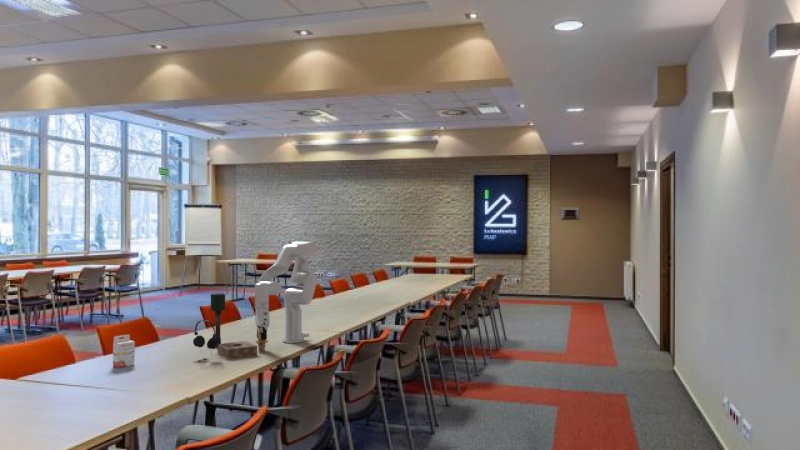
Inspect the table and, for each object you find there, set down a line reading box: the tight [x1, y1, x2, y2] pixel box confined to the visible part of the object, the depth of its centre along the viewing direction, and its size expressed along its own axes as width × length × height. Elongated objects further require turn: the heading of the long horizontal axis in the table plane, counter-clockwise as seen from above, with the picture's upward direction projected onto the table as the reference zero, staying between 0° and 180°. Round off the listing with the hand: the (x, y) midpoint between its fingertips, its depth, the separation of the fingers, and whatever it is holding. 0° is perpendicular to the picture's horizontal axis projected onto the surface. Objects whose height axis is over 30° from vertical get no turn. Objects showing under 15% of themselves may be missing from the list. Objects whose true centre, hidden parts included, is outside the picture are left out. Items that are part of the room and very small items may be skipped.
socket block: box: [217, 340, 258, 360], centre depth 304 cm, size 16×16×5 cm
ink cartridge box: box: [112, 334, 136, 369], centre depth 279 cm, size 9×5×15 cm, turn 145°
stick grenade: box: [209, 292, 227, 349], centre depth 322 cm, size 8×9×30 cm
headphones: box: [192, 319, 219, 364], centre depth 291 cm, size 15×11×20 cm
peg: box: [255, 327, 269, 352], centre depth 313 cm, size 6×6×13 cm
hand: (261, 338), depth 313 cm, fingers open, 5 cm apart
